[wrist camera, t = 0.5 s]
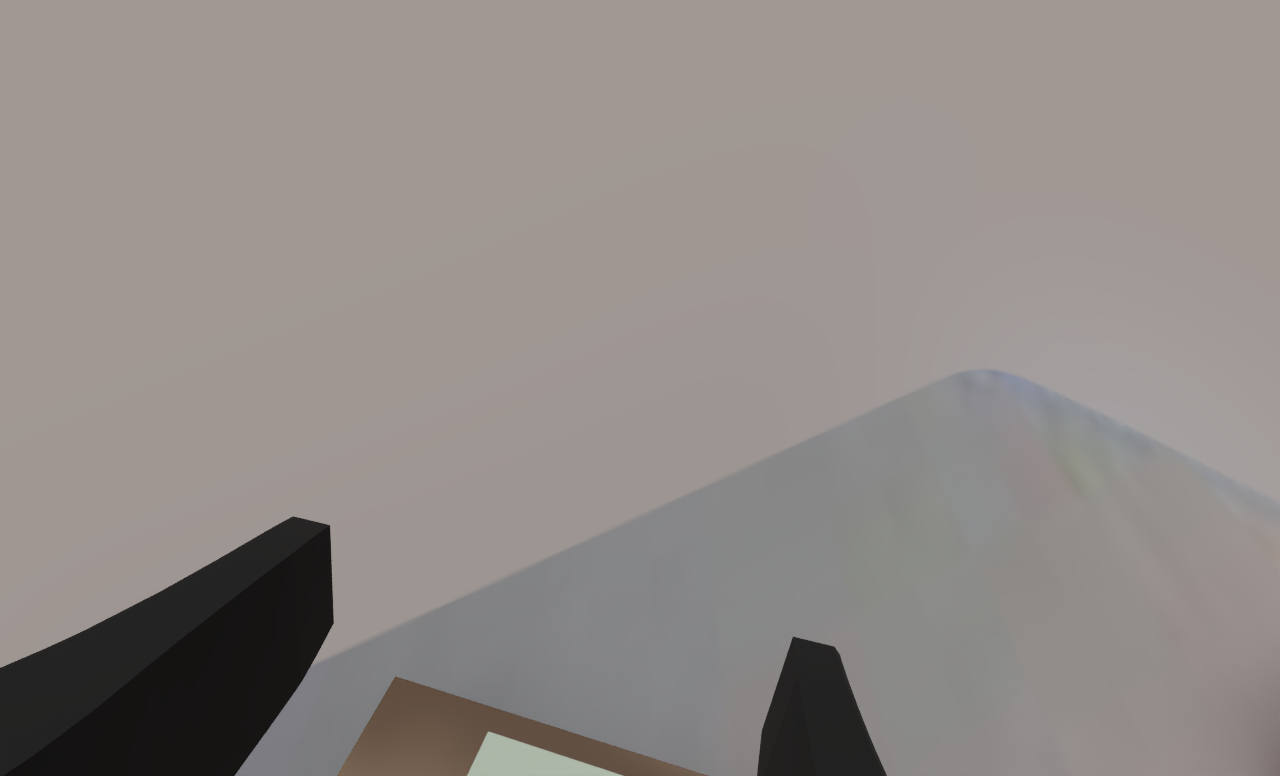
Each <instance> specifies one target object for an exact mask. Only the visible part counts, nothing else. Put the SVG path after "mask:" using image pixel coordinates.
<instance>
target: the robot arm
mask: <svg viewBox="0 0 1280 776" xmlns="http://www.w3.org/2000/svg"><path fill="white" fill-rule="evenodd" d="M332 594H333V593H332V567H331V540H330V525H326V524H322V523H318V522H314V521H310V520H306V519H302V518H297V517H291V518H289V519H288V520H286V521H284V522H282V523H280V524H278V525H276V526H275V527H273V528H271V529H269V530H268V531H266V532H264V533H263V534H261V535H259V536H257V537H256V538H254V539H252V540H251V541H249V542H247V543H245V544H244V545H242V546H240V547H238V548H237V549H235V550H233V551H232V552H230V553H228V554H226V555H225V556H223V557H221V558H219V559H218V560H216V561H214V562H212V563H211V564H209V565H207V566H205V567H204V568H202V569H200V570H198V571H197V572H195V573H193V574H191V575H189V576H188V577H186V578H184V579H182V580H180V581H179V582H177V583H175V584H173V585H172V586H170V587H168V588H166V589H164V590H163V591H161V592H159V593H157V594H155V595H153V596H151V597H149V598H147V599H145V600H143V601H141V602H139V603H137V604H135V605H134V606H132V607H130V608H128V609H126V610H124V611H122V612H120V613H118V614H116V615H114V616H112V617H110V618H108V619H106V620H104V621H102V622H100V623H98V624H96V625H95V626H92V627H91V628H89V629H87V630H85V631H82V632H80V633H78V634H76V635H74V636H72V637H70V638H68V639H65V640H63V641H61V642H59V643H57V644H55V645H52V646H50V647H48V648H46V649H43V650H41V651H39V652H36V653H34V654H32V655H30V656H27V657H25V658H22V659H20V660H18V661H15V662H13V663H11V664H9V665H6V666H4V667H2V668H0V776H234V775H235V774H236V773H237V771H238V770H239V769H240V767H241V766H242V764H243V763H244V762H245V760H246V759H247V758H248V756H249V755H250V753H251V752H252V751H253V749H254V748H255V747H256V745H257V744H258V742H259V741H260V740H261V738H262V737H263V735H264V734H265V733H266V731H267V730H268V729H269V727H270V726H271V724H272V723H273V722H274V720H275V719H276V717H277V716H278V715H279V713H280V712H281V710H282V709H283V708H284V706H285V705H286V703H287V702H288V701H289V699H290V698H291V696H292V695H293V693H294V692H295V691H296V689H297V688H298V686H299V685H300V683H301V682H302V680H303V678H304V677H305V675H306V673H307V671H308V669H309V668H310V666H311V664H312V662H313V661H314V659H315V657H316V655H317V653H318V652H319V650H320V648H321V646H322V644H323V642H324V640H325V638H326V636H327V634H328V633H329V631H330V629H331V627H332V625H333V623H334V621H333V595H332ZM757 776H887V775H886V773H885V771H884V768H883V766H882V764H881V762H880V759H879V757H878V755H877V753H876V750H875V748H874V746H873V743H872V741H871V738H870V736H869V734H868V731H867V729H866V726H865V724H864V721H863V719H862V716H861V713H860V711H859V708H858V706H857V703H856V700H855V698H854V695H853V692H852V690H851V687H850V684H849V681H848V678H847V675H846V673H845V670H844V667H843V664H842V661H841V657H840V654H839V653H838V651H837V650H836V648H835V647H833V646H829V645H825V644H821V643H817V642H813V641H808V640H804V639H800V638H796V637H793V638H792V641H791V644H790V648H789V651H788V654H787V657H786V660H785V663H784V666H783V669H782V672H781V675H780V678H779V681H778V684H777V687H776V690H775V693H774V696H773V699H772V702H771V705H770V708H769V711H768V714H767V717H766V720H765V723H764V726H763V729H762V735H761V744H760V754H759V763H758V773H757Z"/></svg>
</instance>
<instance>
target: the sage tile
mask: <svg viewBox="0 0 1280 776" xmlns="http://www.w3.org/2000/svg"><path fill="white" fill-rule="evenodd" d="M467 776H623V775H620V774H617V773H614V772H611V771H608V770H605V769H601V768H598V767H595V766H592V765H589V764H586V763H583V762H580V761H577V760H574V759H571V758H568V757H565V756H562V755H559V754H556V753H553V752H550V751H547V750H544V749H540V748H537V747H534V746H531V745H528V744H525V743H522V742H519V741H516V740H513V739H510V738H507V737H504V736H501V735H498V734H495V733H492V732H489V731H488V733H487V735H486V737H485V739H484V741H483V743H482V745H481V747H480V750H479V752H478V754H477V756H476V758H475V760H474V762H473V764H472V766H471V768H470V770H469V773H468V775H467Z"/></svg>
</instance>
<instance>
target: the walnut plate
mask: <svg viewBox="0 0 1280 776" xmlns="http://www.w3.org/2000/svg"><path fill="white" fill-rule="evenodd" d="M488 731H489V732H492V733H495V734H498V735H501V736H504V737H507V738H510V739H513V740H516V741H519V742H522V743H525V744H528V745H531V746H534V747H537V748H540V749H544V750H547V751H550V752H553V753H556V754H559V755H562V756H565V757H568V758H571V759H574V760H577V761H580V762H583V763H586V764H589V765H592V766H595V767H598V768H601V769H605V770H608V771H611V772H614V773H617V774H620V775H623V776H707V775H704V774H701V773H698V772H694V771H691V770H688V769H685V768H682V767H679V766H675V765H672V764H669V763H666V762H663V761H660V760H657V759H653V758H650V757H647V756H644V755H641V754H638V753H635V752H631V751H628V750H625V749H622V748H619V747H616V746H613V745H609V744H606V743H603V742H600V741H597V740H594V739H591V738H587V737H584V736H581V735H578V734H575V733H572V732H568V731H565V730H562V729H559V728H556V727H553V726H550V725H546V724H543V723H540V722H537V721H534V720H531V719H528V718H524V717H521V716H518V715H515V714H512V713H509V712H506V711H502V710H499V709H496V708H493V707H490V706H487V705H484V704H480V703H477V702H474V701H471V700H468V699H465V698H461V697H458V696H455V695H452V694H449V693H446V692H443V691H439V690H436V689H433V688H430V687H427V686H424V685H421V684H417V683H414V682H411V681H408V680H405V679H402V678H399V677H395V678H394V680H393V681H392V683H391V685H390V687H389V688H388V690H387V692H386V693H385V695H384V697H383V698H382V700H381V702H380V704H379V705H378V707H377V709H376V710H375V712H374V714H373V715H372V717H371V719H370V721H369V722H368V724H367V726H366V727H365V729H364V731H363V732H362V734H361V736H360V738H359V739H358V741H357V743H356V744H355V746H354V748H353V749H352V751H351V753H350V755H349V756H348V758H347V760H346V761H345V763H344V765H343V766H342V768H341V770H340V772H339V773H338V775H337V776H467V775H468V773H469V770H470V768H471V766H472V764H473V762H474V760H475V758H476V756H477V754H478V752H479V750H480V747H481V745H482V743H483V741H484V739H485V737H486V735H487V733H488Z"/></svg>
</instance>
